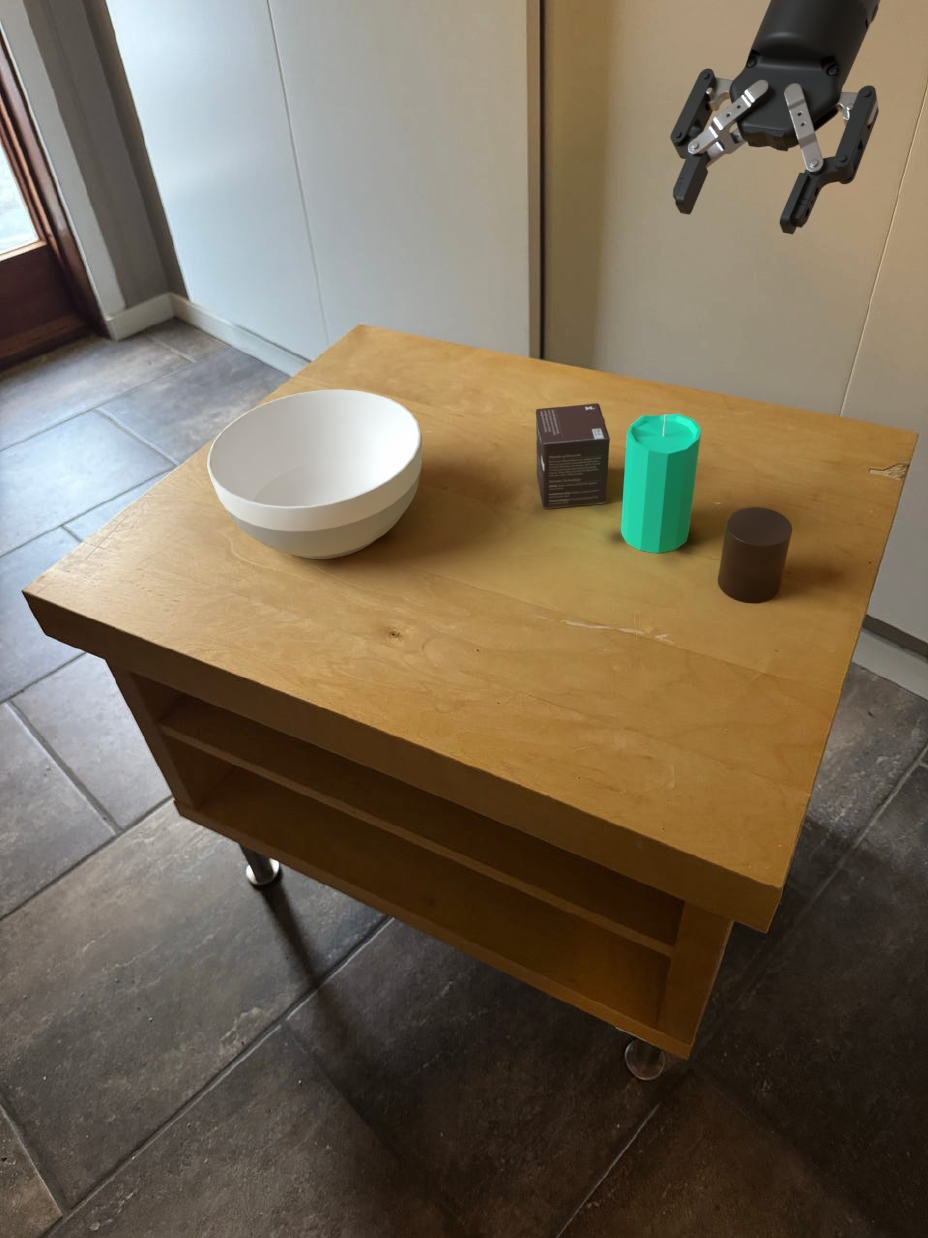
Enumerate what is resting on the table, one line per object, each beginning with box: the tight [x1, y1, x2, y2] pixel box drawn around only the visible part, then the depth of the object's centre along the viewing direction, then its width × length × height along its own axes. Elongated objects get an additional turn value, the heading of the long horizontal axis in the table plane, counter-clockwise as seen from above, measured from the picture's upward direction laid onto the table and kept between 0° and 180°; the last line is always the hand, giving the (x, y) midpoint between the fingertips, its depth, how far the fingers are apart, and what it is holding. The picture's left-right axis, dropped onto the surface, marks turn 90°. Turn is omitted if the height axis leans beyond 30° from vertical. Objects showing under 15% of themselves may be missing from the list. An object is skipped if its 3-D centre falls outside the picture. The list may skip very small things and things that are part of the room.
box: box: [535, 402, 611, 510], centre depth 86 cm, size 6×6×7 cm
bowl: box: [206, 388, 423, 560], centre depth 85 cm, size 19×19×9 cm
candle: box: [620, 413, 702, 554], centre depth 79 cm, size 6×6×12 cm
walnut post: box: [717, 506, 793, 604], centre depth 76 cm, size 5×5×6 cm
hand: (732, 218), depth 71 cm, fingers open, 8 cm apart
